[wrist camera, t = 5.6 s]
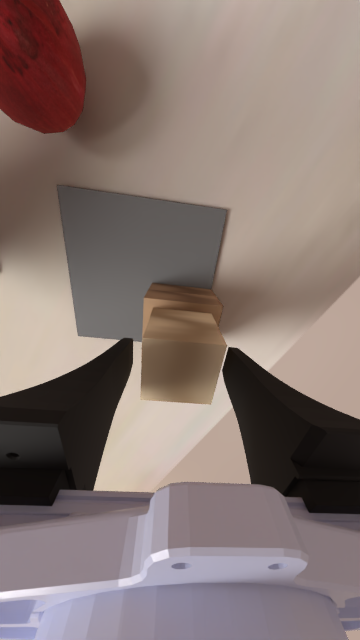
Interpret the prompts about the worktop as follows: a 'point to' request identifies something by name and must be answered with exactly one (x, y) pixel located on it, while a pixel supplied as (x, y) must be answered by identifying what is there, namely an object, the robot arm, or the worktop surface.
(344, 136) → the worktop surface
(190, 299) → the tower top
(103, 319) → the mat
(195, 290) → the tower base
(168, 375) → the cube
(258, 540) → the robot arm
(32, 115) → the red round fruit
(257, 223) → the worktop surface
